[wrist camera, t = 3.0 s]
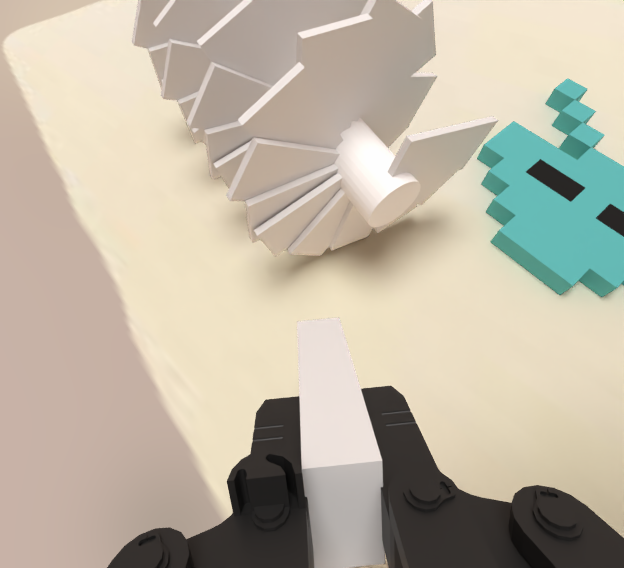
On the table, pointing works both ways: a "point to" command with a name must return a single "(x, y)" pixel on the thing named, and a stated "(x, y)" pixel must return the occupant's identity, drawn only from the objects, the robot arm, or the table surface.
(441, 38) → the table surface
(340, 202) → the spiral staircase
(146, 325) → the table surface
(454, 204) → the table surface
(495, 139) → the alien figure
